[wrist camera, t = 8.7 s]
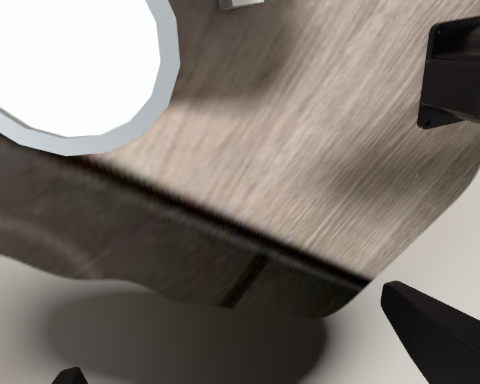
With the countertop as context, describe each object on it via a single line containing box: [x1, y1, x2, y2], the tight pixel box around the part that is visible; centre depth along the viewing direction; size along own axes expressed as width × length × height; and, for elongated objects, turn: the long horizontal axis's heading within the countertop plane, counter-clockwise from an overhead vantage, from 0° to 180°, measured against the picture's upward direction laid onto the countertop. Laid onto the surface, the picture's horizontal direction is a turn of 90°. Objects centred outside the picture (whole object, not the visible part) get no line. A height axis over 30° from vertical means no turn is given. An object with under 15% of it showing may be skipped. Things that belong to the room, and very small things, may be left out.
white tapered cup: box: [0, 0, 180, 156], centre depth 12 cm, size 7×7×7 cm
